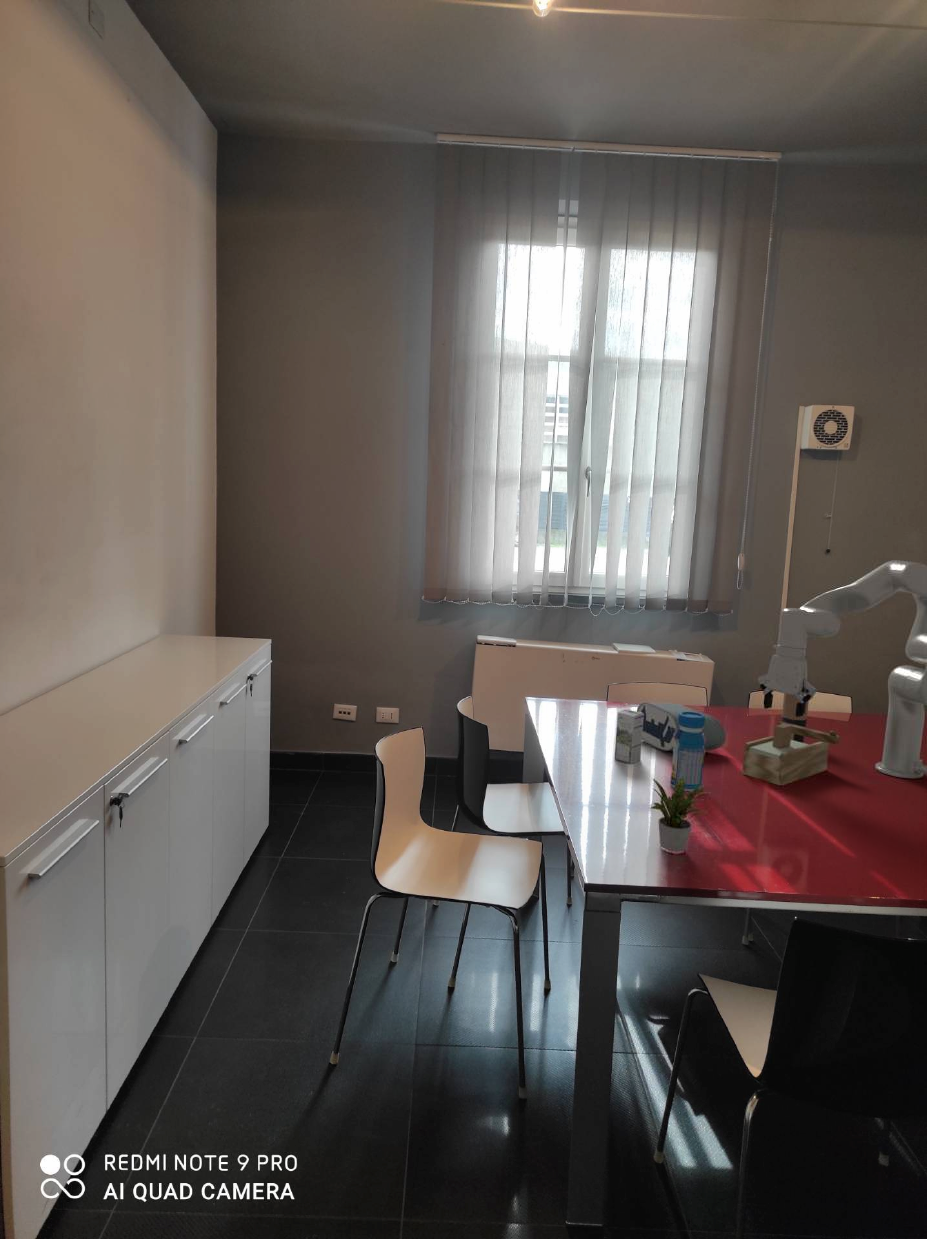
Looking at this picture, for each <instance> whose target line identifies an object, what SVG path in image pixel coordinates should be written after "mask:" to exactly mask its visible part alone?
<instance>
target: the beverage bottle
mask: <svg viewBox="0 0 927 1239" xmlns="http://www.w3.org/2000/svg"><path fill="white" fill-rule="evenodd" d="M678 724H679V726H680V728H679V729H678V730H677V732H676V734H675V736H674V740H675V743H674V744H673V751H672V764H671V765H672V766H671V776H670V782H669V783H670V786H671V787H672V788H673V789H675V785H674V780H675V782H676V785H677V784H678V781H679V780H680V779H681V778H682V777H683V778H684V782H685V790H684V792H691V791H693V790H694V789H696V788H697V787H699V786H702V785H703V772H704V769H703V768H704V760H705V754H706V751H705V747H704V744H705V743H706V739H705V735H704V733H703V731H702V730H701V729H703V728H704V724H705V716H704V715H703V714H700V713H696V712H681V713H680V714H679V719H678ZM673 778H674V780H673Z"/></svg>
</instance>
